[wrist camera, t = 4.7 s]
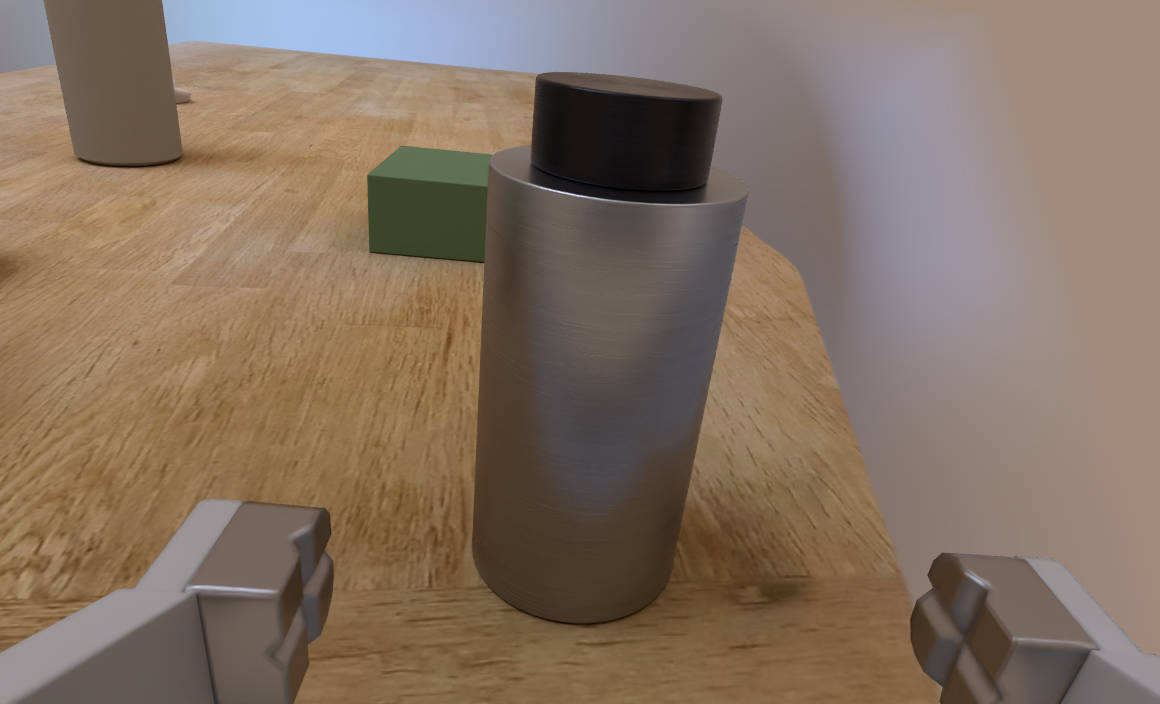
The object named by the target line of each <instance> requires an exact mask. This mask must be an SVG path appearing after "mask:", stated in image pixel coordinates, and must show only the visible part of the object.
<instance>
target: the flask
mask: <svg viewBox="0 0 1160 704" xmlns="http://www.w3.org/2000/svg"><path fill="white" fill-rule="evenodd" d="M721 104H722V96H721V95H719V94H717V93H715V92H713V91H709V90H706V89H702V88H697V87H692V86H688V85H682V84H676V83H671V82H664V81H656V80H649V79H642V78H634V77H625V76H615V75H605V74H591V73H590V74H589V73H574V72H572V73H571V72H552V73H543V74H539V75H538V76H537V77H536V85H535V99H534V114H533V128H532V143H531V145H530V146H521V147H515V148H510V149H506V150H503V151H500V152H497V153H496V154H494V155H493V156H492V157H491V158H490V160H489V170H488V193H487V216H486V238H485V261H484V284H483V307H482V330H481V352H480V375H479V398H478V421H477V444H476V466H475V489H474V512H473V535H472V552H473V558H474V561H475V564H476V567H477V569H478V571H479V573H480V575H481V577H482V578H483V579H484V581H485V582H486V583H487V585H488V586H489V587H490V588H491V589H492V590H493V591H494V592H495V593H496V594H497V595H499V596H500V597H501V598H503V599H504V600H505V601H506V602H508V603H510V604H511V605H513V606H515V607H517V608H518V609H521V610H523V611H525V612H527V613H529V614H532V615H535V616H538V617H541V618H544V619H549V620H553V621H558V622H566V623H584V624H589V623H599V622H606V621H611V620H616V619H619V618H622V617H625V616H628V615H630V614H632V613H634V612H636V611H639V610H640V609H642V608H643V607H645V606H646V605H648V604H649V603H651V602H652V601H653V600H654V599H655V598H656V597H657V596H658V595H659V594H660V593H661V591H662V590H663V589H664V587H665V586H666V584H667V582H668V580H669V578H670V574H671V571H672V566H673V562H674V557H675V552H676V547H677V542H678V537H679V532H680V527H681V522H682V517H683V512H684V507H685V503H686V498H687V493H688V488H689V483H690V478H691V473H692V468H693V463H694V458H695V453H696V448H697V444H698V439H699V434H700V429H701V424H702V419H703V414H704V409H705V404H706V399H707V394H708V389H709V384H710V380H711V375H712V370H713V365H714V360H715V355H716V350H717V345H718V340H719V335H720V330H721V325H722V321H723V316H724V311H725V306H726V301H727V296H728V291H729V286H730V281H731V276H732V271H733V266H734V262H735V257H736V252H737V247H738V242H739V237H740V232H741V227H742V222H743V217H744V212H745V207H746V202H747V198H748V187H747V185H746V184H745V183H744V182H743V181H742V180H740V179H739V178H737V177H735V176H734V175H732V174H730V173H727V172H725V171H723V170H720V169H717V168H715V167H712V166H711V160H712V155H713V150H714V143H715V138H716V132H717V126H718V121H719V115H720V110H721Z"/></svg>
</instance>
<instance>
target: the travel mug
mask: <svg viewBox="0 0 1160 704" xmlns="http://www.w3.org/2000/svg"><path fill="white" fill-rule="evenodd" d="M44 4H45V10H46V15H47V20H48V25H49V29H50V34H51V39H52V44H53V49H54V54H55V59H56V64H57V69H58V74H59V79H60V84H61V89H62V94H63V99H64V104H65V109H66V114H67V119H68V124H69V129H70V134H71V139H72V144H73V148H74V153H75V155H76V156H78V157H80V158H82V159H84V160H86V161H89V162H92V163H97V164H104V165H112V166H147V165H156V164H162V163H168V162H171V161H173V160H175V159H177V158H178V157H180V156H181V155H182V154H183V151H182V144H181V136H180V129H179V122H178V114H177V107H176V100H175V93H174V85H173V78H172V71H171V63H170V56H169V49H168V41H167V34H166V27H165V20H164V13H163V6H162V0H44Z"/></svg>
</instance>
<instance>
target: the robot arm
mask: <svg viewBox="0 0 1160 704" xmlns="http://www.w3.org/2000/svg"><path fill="white" fill-rule="evenodd" d="M331 534H332V533H331V523H330V513H329V512H328V511H327V510H326V509H325V508H318V507H307V506H297V505H286V504H276V503H265V502H254V501H247V502H245V501H238V500H226V499H215V498H207V499H205V500H203V501H201V502H199V503H198V504H197V505H196V506H195V508H194V509H193V510H192V512H191V513H190V514H189V516H188V517H187V518H186V520H185V521H184V522H183V524H182V525H181V526H180V528H179V529H178V530H177V532H176V533H175V534H174V536H173V537H172V538H171V540H170V541H169V542H168V544H167V545H166V546H165V548H164V549H163V550H162V552H161V553H160V554H159V556H158V557H157V558H156V560H155V561H154V562H153V564H152V565H151V566H150V568H149V569H148V570H147V572H146V573H145V574H144V576H143V577H142V578H141V580H140V581H139V582H138V584H137V585H136V586H135V588H134V589H122V588H120V589H119V590H117V591H115V592H113V593H111V594H109V595H107V596H105V597H104V598H102V599H100V600H98V601H96V602H94V603H92V604H90V605H89V606H87V607H85V608H83V609H81V610H79V611H77V612H76V613H74V614H72V615H70V616H68V617H66V618H64V619H62V620H61V621H59V622H57V623H55V624H53V625H51V626H49V627H47V628H46V629H44V630H42V631H40V632H38V633H36V634H34V635H33V636H31V637H29V638H27V639H25V640H23V641H21V642H19V643H18V644H16V645H14V646H12V647H10V648H8V649H6V650H4V651H3V652H1V653H0V704H293V703H294V701H295V698H296V696H297V693H298V691H299V688H300V686H301V683H302V681H303V678H304V676H305V673H306V671H307V668H308V666H309V657H308V644H309V643H310V642H312V641H313V640H314V639H316V638H317V637H318V636H320V635H321V632H322V630H323V627H324V624H325V622H326V619H327V616H328V612H329V607H330V603H331V598H332V593H333V580H334V567H333V560H332V559H331V558H330V556H329V555H328V554H327V553H326V552H325V551H324V550H325V548H326V545H327V543H328V541H329V538H330V536H331ZM928 577H929V580H930V582H931V584H932V586H933V588H932V589H931V590H930V591H928V592H927V593H926V594H924V595H923V596H922V597H920V598H919V599H918V600H917V602H916V604H915V607H914V610H913V613H912V616H911V618H910V625H911V642H912V646H913V649H914V653H915V656H916V658H917V660H918V662H919V664H920V666H921V668H922V670H923V672H925V673H926V674H927V675H928V676H930V677H931V678H932V679H933V680H935V681H936V682H937V683H938V684H940V685H941V686H942V687H943V688H942V692H941V697H940V701H939V702H940V703H941V704H1160V657H1159V656H1157V655H1155V654H1144V653H1143V652H1142V651H1141V650H1140V649H1139V648H1138V646H1137V645H1136V644H1135V643H1134V642H1133V641H1132V640H1131V639H1130V638H1129V636H1128V635H1127V634H1126V633H1125V632H1124V631H1123V630H1122V629H1121V628H1120V627H1119V626H1118V624H1117V623H1116V622H1115V621H1114V620H1113V619H1112V617H1111V616H1110V615H1109V614H1108V613H1107V612H1106V611H1105V610H1104V609H1103V607H1102V606H1101V605H1100V604H1099V603H1098V602H1097V601H1096V600H1095V599H1094V597H1093V596H1091V594H1090V593H1089V592H1088V591H1087V590H1086V589H1085V588H1084V586H1083V585H1082V584H1081V583H1080V582H1079V581H1078V580H1077V579H1076V577H1075V576H1074V575H1073V574H1072V573H1071V572H1070V571H1069V570H1068V569H1067V567H1066V566H1065V565H1063V564H1062V563H1059V562H1058V561H1056V560H1054V559H1052V558H1038V557H1017V556H1015V557H1001V556H987V555H971V554H956V553H941V554H940V555H939V556H938V557H937V558H936V559H935V560H934V561H933V563H932V565H931V568H930V570H929V572H928Z"/></svg>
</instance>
